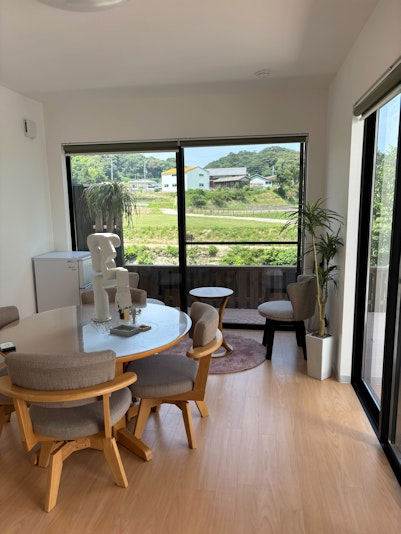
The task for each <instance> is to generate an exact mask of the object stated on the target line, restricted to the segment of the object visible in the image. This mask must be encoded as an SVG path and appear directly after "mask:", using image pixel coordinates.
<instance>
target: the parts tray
mask: <svg viewBox="0 0 401 534" xmlns="http://www.w3.org/2000/svg"><path fill="white" fill-rule="evenodd" d="M139 333H141V331H140V328H139V327H137V326H133V325H129V324H123V323H122V324H119V325H116V326H113V327H110V328H109V334H110V335H115V336H120V337H121V336H122V337H125V338H129V337H131V336H134V335H136V334H139Z"/></svg>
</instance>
